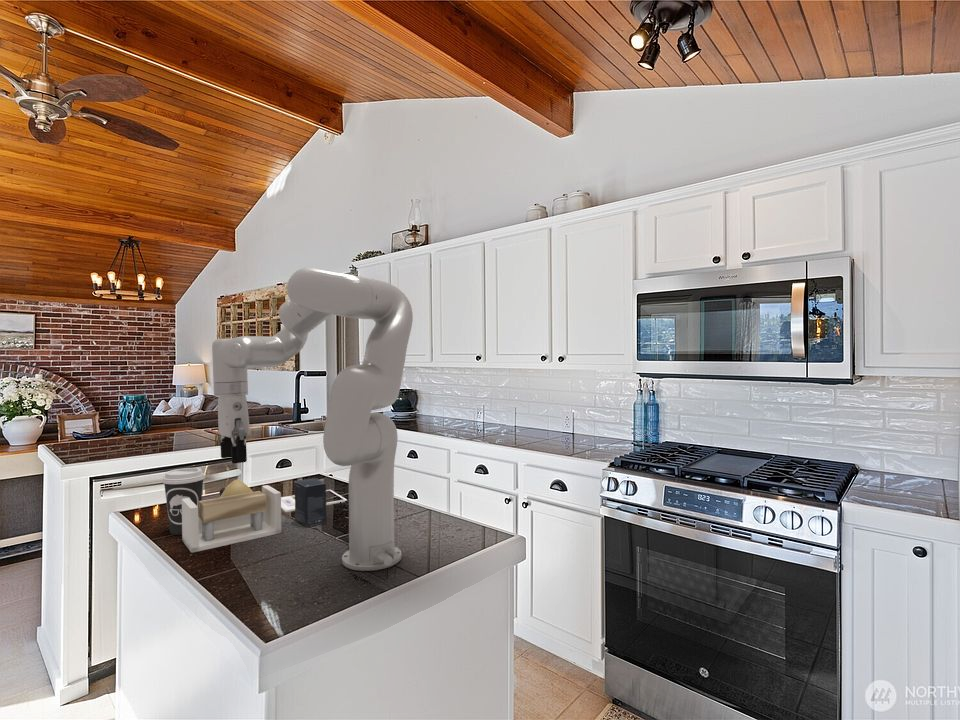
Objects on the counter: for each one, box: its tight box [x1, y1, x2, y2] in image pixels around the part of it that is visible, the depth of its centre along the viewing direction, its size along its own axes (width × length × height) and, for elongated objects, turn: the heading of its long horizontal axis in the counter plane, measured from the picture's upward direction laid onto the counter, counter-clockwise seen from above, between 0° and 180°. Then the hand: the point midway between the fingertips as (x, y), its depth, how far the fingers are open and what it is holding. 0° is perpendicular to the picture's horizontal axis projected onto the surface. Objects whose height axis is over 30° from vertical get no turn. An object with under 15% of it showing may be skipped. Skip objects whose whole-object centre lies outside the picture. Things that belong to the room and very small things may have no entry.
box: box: [294, 478, 327, 528], centre depth 140 cm, size 8×6×11 cm
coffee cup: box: [161, 467, 206, 536], centre depth 134 cm, size 10×10×15 cm
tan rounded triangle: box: [219, 479, 254, 498], centre depth 144 cm, size 10×12×11 cm
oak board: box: [199, 490, 266, 523], centre depth 129 cm, size 5×14×4 cm, turn 130°
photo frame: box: [281, 489, 348, 513], centre depth 160 cm, size 15×1×18 cm
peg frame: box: [181, 484, 282, 554], centre depth 129 cm, size 10×20×10 cm, turn 130°
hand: (233, 459), depth 128 cm, fingers open, 9 cm apart
